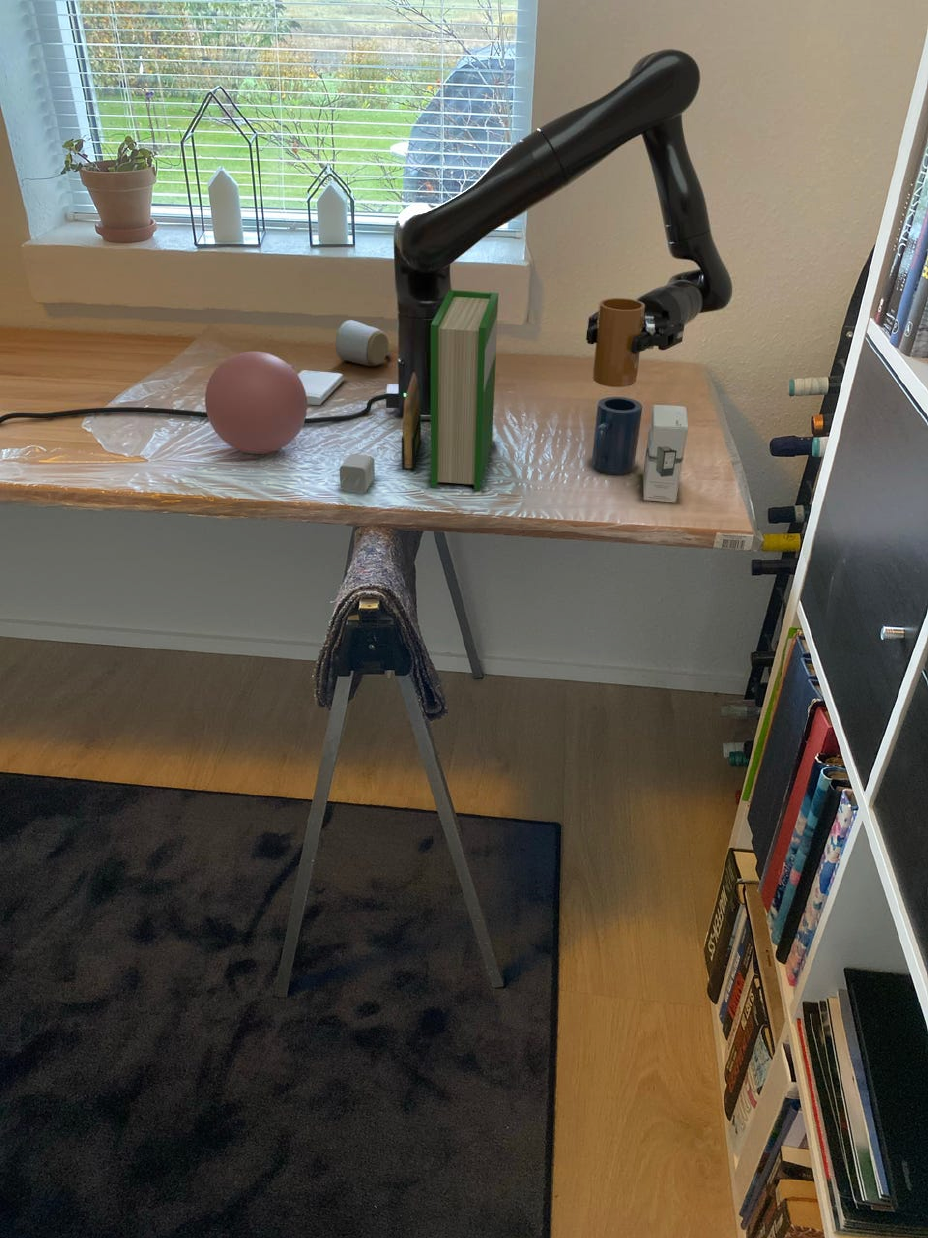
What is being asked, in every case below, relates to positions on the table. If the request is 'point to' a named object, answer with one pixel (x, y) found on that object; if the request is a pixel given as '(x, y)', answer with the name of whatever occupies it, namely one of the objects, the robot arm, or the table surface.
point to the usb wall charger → (357, 473)
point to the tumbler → (617, 341)
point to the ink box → (664, 453)
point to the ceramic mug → (361, 343)
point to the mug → (616, 435)
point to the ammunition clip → (411, 426)
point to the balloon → (256, 402)
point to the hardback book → (462, 386)
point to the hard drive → (319, 385)
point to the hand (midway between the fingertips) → (612, 341)
